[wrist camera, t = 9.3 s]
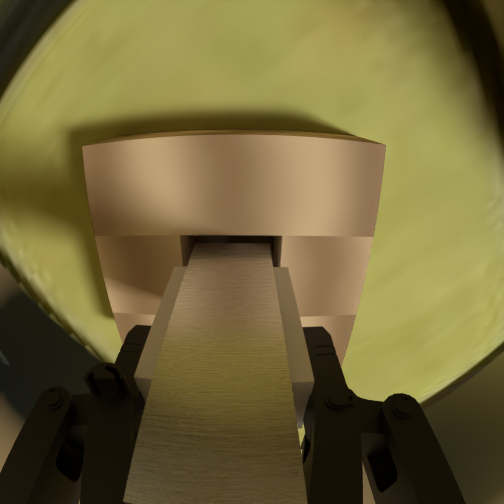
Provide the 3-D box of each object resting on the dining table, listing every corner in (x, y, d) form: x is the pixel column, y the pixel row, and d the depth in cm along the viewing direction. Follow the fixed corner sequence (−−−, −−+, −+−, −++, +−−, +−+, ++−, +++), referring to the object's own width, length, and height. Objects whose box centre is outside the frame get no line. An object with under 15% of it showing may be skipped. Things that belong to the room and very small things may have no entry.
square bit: (269, 243, 15) (308, 511, 4) (266, 304, 16) (287, 535, 6) (195, 243, 15) (123, 501, 4) (200, 303, 16) (163, 530, 5)
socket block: (356, 136, 16) (385, 144, 12) (328, 329, 22) (340, 368, 18) (114, 136, 15) (82, 146, 12) (144, 328, 22) (130, 365, 18)
